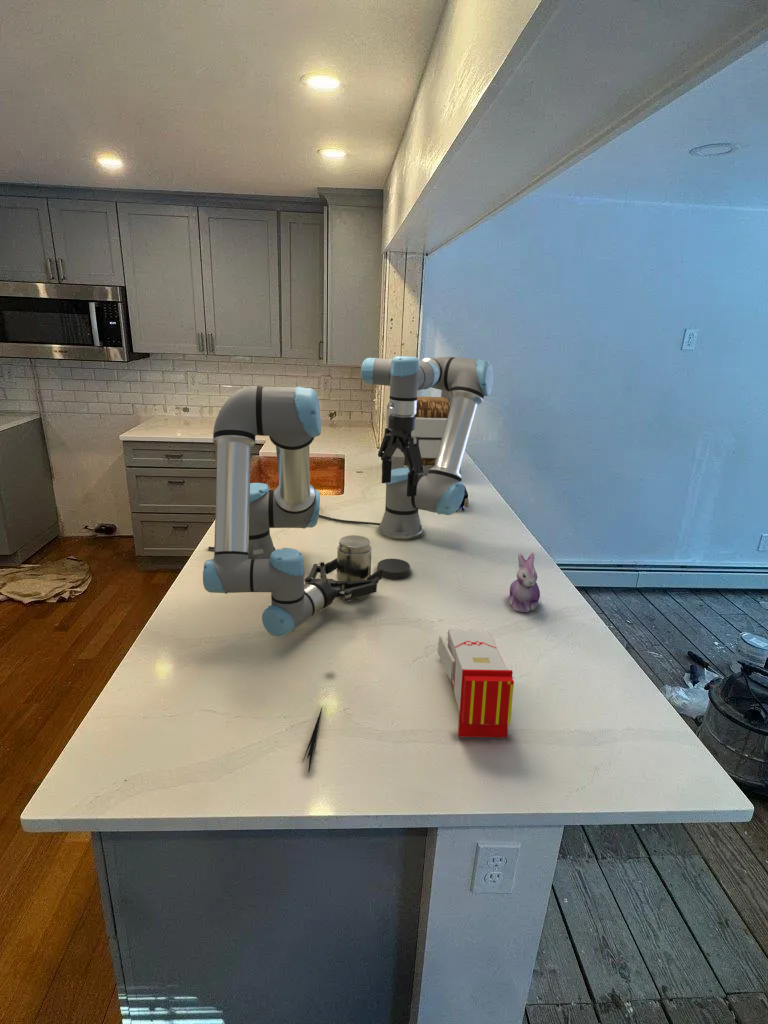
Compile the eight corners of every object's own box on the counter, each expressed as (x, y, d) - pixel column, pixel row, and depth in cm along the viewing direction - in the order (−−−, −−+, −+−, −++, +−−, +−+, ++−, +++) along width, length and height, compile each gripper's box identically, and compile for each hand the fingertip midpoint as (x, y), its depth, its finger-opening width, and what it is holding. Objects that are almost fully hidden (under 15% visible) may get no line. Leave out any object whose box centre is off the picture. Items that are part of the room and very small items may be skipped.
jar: (329, 593, 156) (330, 542, 151) (349, 581, 164) (351, 532, 158) (357, 603, 152) (358, 550, 146) (376, 590, 159) (378, 540, 154)
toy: (488, 613, 130) (523, 677, 101) (484, 667, 133) (517, 744, 104) (435, 612, 130) (455, 676, 101) (432, 666, 133) (451, 743, 103)
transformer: (382, 463, 289) (386, 382, 275) (445, 464, 293) (451, 384, 279) (390, 482, 257) (394, 392, 243) (460, 483, 261) (468, 394, 247)
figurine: (522, 617, 148) (530, 565, 143) (498, 599, 157) (504, 549, 152) (549, 609, 153) (558, 559, 148) (524, 593, 161) (531, 544, 156)
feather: (331, 679, 122) (336, 673, 122) (307, 777, 96) (313, 769, 95) (324, 675, 122) (329, 669, 121) (298, 772, 95) (304, 764, 95)
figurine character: (468, 516, 224) (463, 500, 237) (471, 498, 221) (465, 483, 234) (452, 515, 224) (447, 499, 237) (453, 498, 220) (449, 482, 234)
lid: (412, 567, 175) (412, 560, 174) (406, 581, 166) (407, 574, 165) (380, 563, 176) (381, 556, 176) (374, 576, 167) (374, 570, 166)
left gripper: (275, 596, 148) (323, 568, 165) (355, 625, 136) (398, 591, 153) (274, 570, 145) (324, 544, 163) (355, 598, 134) (399, 566, 151)
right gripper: (368, 408, 163) (365, 478, 170) (416, 424, 143) (411, 503, 150) (390, 406, 167) (387, 476, 174) (440, 422, 147) (434, 500, 154)
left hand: (360, 567), depth 158 cm, fingers open, 13 cm apart
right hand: (398, 489), depth 162 cm, fingers open, 13 cm apart
